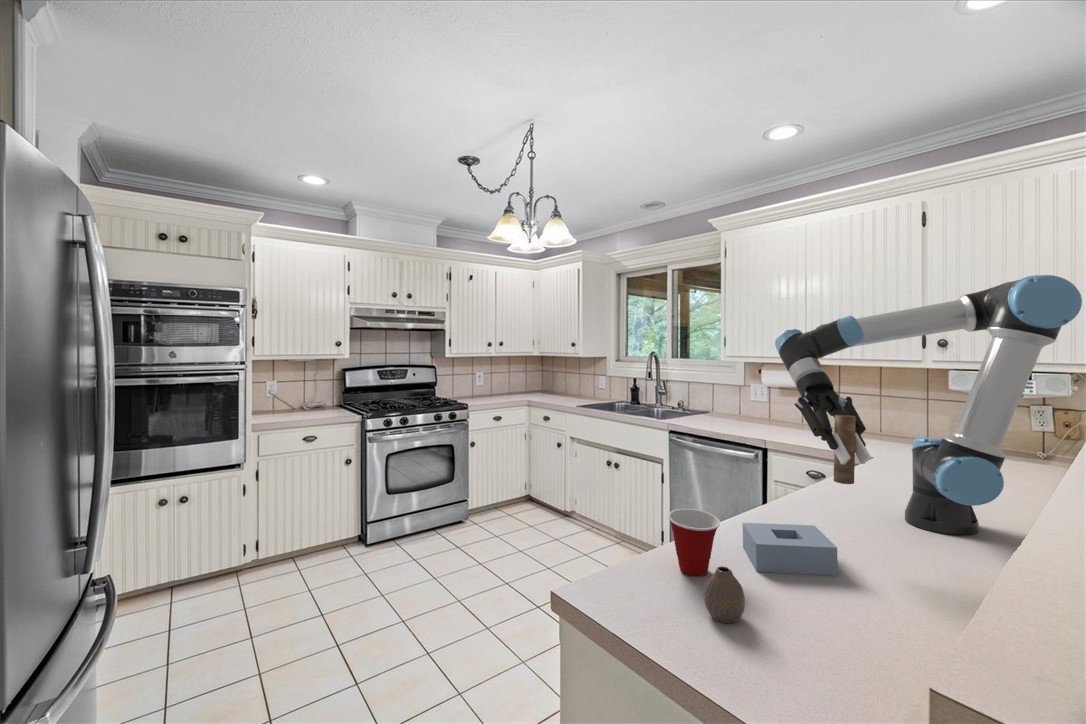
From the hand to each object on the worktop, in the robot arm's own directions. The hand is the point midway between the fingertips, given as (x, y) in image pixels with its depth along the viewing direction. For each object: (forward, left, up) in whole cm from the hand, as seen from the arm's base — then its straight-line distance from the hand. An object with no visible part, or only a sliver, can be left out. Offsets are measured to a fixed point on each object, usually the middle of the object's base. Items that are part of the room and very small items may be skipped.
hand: (855, 460), depth 107 cm
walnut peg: (+1, -4, -6) cm, 7 cm away
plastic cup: (+35, +8, -23) cm, 43 cm away
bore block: (+14, 0, -23) cm, 27 cm away
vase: (+32, +26, -23) cm, 48 cm away
